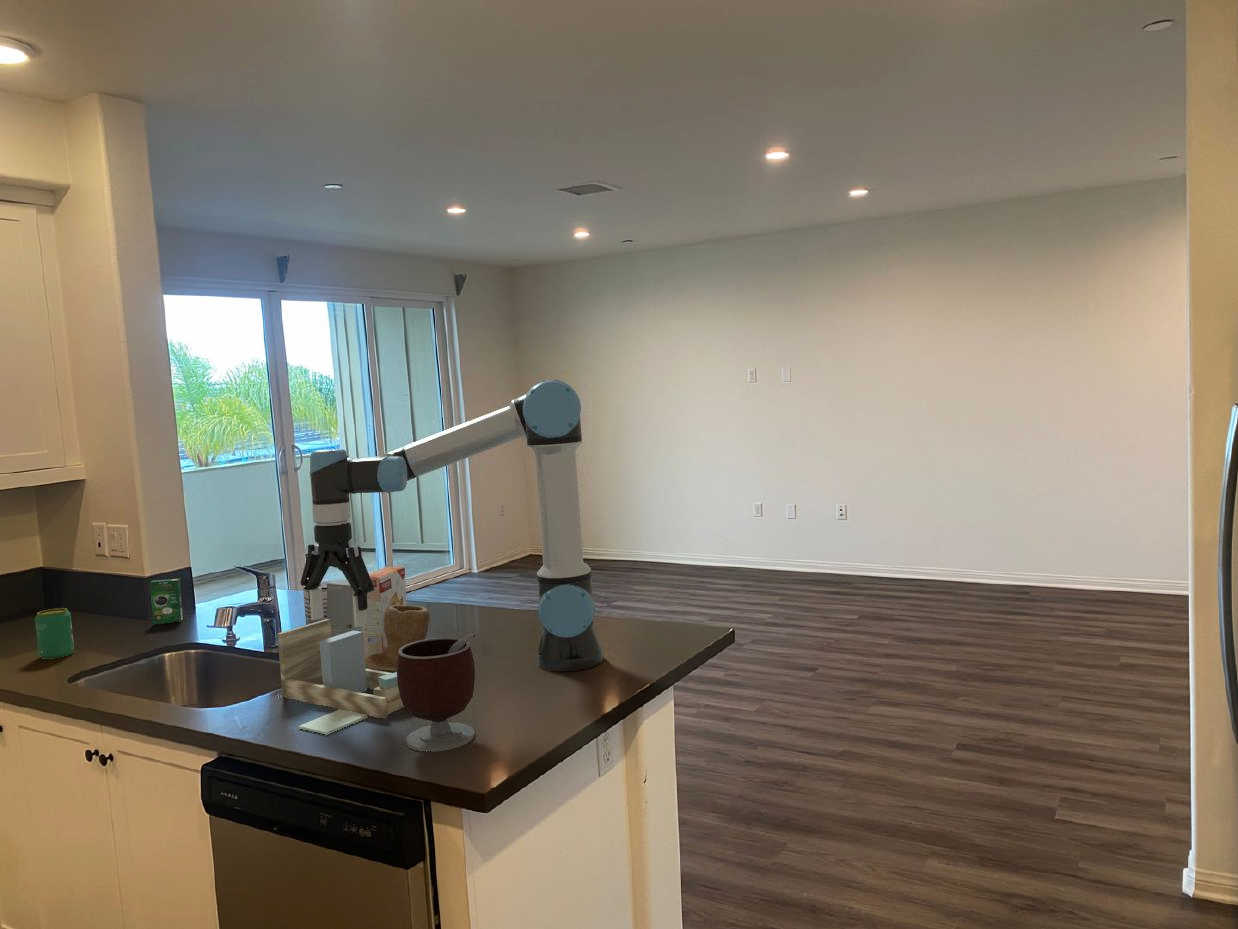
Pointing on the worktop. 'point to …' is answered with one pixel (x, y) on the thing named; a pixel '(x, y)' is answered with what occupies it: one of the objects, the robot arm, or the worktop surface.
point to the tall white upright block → (344, 662)
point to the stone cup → (399, 634)
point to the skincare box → (340, 607)
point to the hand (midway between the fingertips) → (338, 622)
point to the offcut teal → (388, 681)
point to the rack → (306, 673)
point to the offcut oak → (394, 705)
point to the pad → (333, 721)
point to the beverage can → (54, 633)
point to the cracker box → (382, 606)
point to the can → (307, 604)
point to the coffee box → (166, 601)
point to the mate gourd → (437, 690)
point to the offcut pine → (387, 693)
